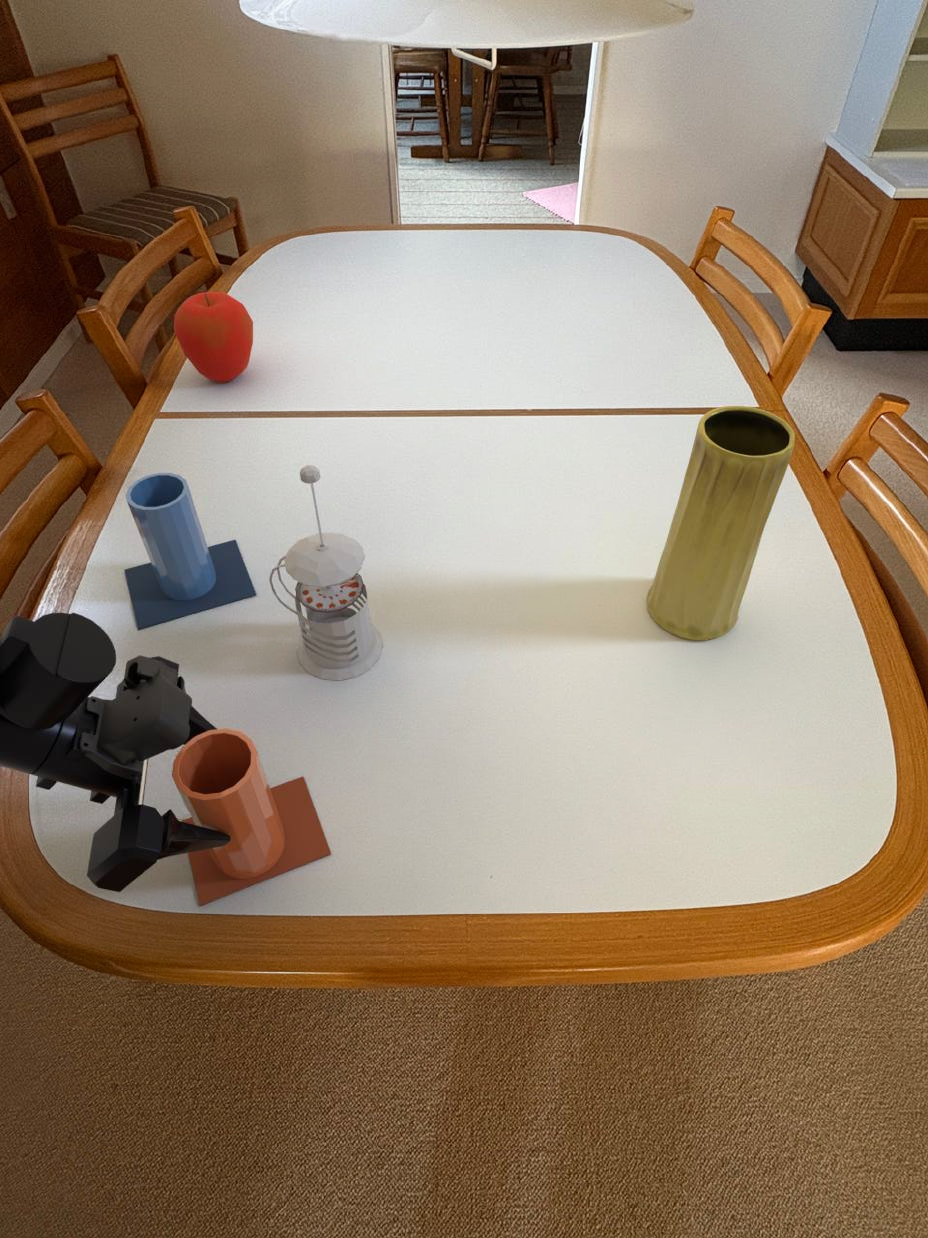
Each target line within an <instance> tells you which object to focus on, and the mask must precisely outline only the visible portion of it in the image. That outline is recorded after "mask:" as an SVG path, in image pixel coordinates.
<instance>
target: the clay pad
mask: <svg viewBox="0 0 928 1238" xmlns="http://www.w3.org/2000/svg"><path fill="white" fill-rule="evenodd" d="M270 790H271V793H272V796H273V799H274V802H275V805H276V808H277V811H278V814H279V817H280V820H281V823H282V826H283V829H284V834H285V846H284V850H283V853H282V855H281V857H280V858H279V860H278V861H277V862H276V864H275V865H274V866H273V867H272V868H270V869H269V870H268V871H266V872H265V873H263V874H261V875H259V876H256V877H253V878H248V879H238V878H233V877H230V876H228V875H226V874H224V873H223V872H222V871H221V870H220V869H219V868H218V867H217V865H216V864H215V863H214V861H213V859H212V857H211V855H210V853H209V851H208V849H205V850H200V851H194V852H189V853H187V854H188V857H189V863H190V867H191V871H192V876H193V880H194V884H195V889H196V892H197V897H198V898H197V899H198V902H199V906H200V907H202V906H205V905H207V904H210V903H212V902H215V901H217V900H221V899H223V898H225V897H228V896H230V895H232V894H235V893H237V892H241V891H242V890H245V889H248V888H250V887H252V886H255V885H257V884H260V883H262V882H264V881H268V880H270V879H272V878H275V877H278V876H280V875H283V874H285V873H287V872H290V871H292V870H295V869H298V868H300V867H302V866H305V865H308V864H310V863H313V862H314V861H318V860H320V859H323V858H325V857H328V856H330V855H332V852H331V849H330V847H329V844H328V841H327V837H326V835H325V832H324V830H323V827H322V824H321V821H320V818H319V816H318V813H317V810H316V808H315V804H314V802H313V799H312V795H311V793H310V791H309V789H308V785H307V782H306V780H305V776H304V775H302V776H300V777H297V778H293V779H292V780H288V781H286V782H283V783H281V784H277V785H275V786H273V787H270ZM181 822H185V823H189V824H193V825H195V823H194V821H193V819H192V817H191V816H190V817H188V818H185V819H181Z"/></svg>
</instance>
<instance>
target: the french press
mask: <svg viewBox="0 0 928 1238" xmlns="http://www.w3.org/2000/svg"><path fill="white" fill-rule="evenodd" d="M299 477H300V481H301V482H302V483H304V484H310V488H311V494H312V498H313V505H314V510H315V516H316V521H317V523H316V524H317V528H318V532H319V533H315V534H310V535H309V536H306V537H304V538H301V539H299V540H297V542H295V543H294V544H293V545H292V546H291V547H290V548H289V549H288V551H287V552H286V554H285V555H283V556H282V557H281V558H280V559H279V561H278V562H277V564H276V566H275V567H274V568H272V570H271V572H270V574H269V579H268V580H269V584H270V588H271V591H272V593H273V594H274V596H275V598H276V599H277V600H278V602H279V603H280V604H281V605H282V606H283V607H284V608H286V609H287V610H288V611H290V612H292V613H293V614H295V615H297V619H298V624H299V627H300V632H301V636H300V638H299V642H298V644H297V647H296V654H297V659H298V663H299V664H300V665H301V666H302V667H303V669H304V670H305V671H306V672H307V673H308V674H310V675H312V676H314V677H316V678H319V679H320V680H329V681H336V682H337V681H343V680H349V679H353V678H356V677H358V676H360V675H362V674H363V673H365V672H367V671H369V670H370V669H372V667H373V666H374V665H375V664H376V663H377V662H378V660H379V659H380V658H381V654H382V650H383V648H384V647H383V646H384V643H383V639H382V636H381V632H380V631H379V630H378V629H377V628H376V627H375V626H374V625H373V624H372V622H371V621H372V620H371V612H370V605H369V598H368V592H367V588H366V585H365V583H364V580H363V577H362V576H361V574H359V572H360V571H361V569H362V568H363V565H364V562H365V558H366V555H365V551H364V548H363V546H362V545H361V544H360V543H359V542H358V541H357V540H356V539H355V538H353V537H351V536H349V535H346V534H344V533H339V532H328V531H327V532H322V528H321V521H320V515H319V510H318V504H317V499H316V492H315V486H314V483H317V482H319V481H320V480H321V472H320V469H319V468H318V467H317V466H316V465H312V464H307V465H305V466H303V467H302V468H301V469H300V470H299ZM283 561H284V563H283V564H282V562H283ZM283 567H284V569H285V572H286V573H287V574H288V575H289V576H290V577H291V579H292V580H294V581H296V585H295V588H294V591H295V594H293V593H292V592H291V591H289V589H288V588H287V586H286V585H285V583H284V581H283V579H282V577H281V571H280V568H283ZM275 572H277V577H278V581H279V582H280V583H281V586H282V587H283V588H284V590H285V591H286V593H287V594H288V595H290V597H292V598H293V599H294V603H295V609H293V608H292V607H290V606H289V605H287V604H286V603H285V602H283V600H282V599H281V598H280V597H279V596H278V594H277V592H276V590H275V588H274V584H273V575H274V573H275ZM360 600H361V601H360ZM355 603H357V604H358V605H359V606H360V607H359V606H358V605H357V604H355ZM301 605H302V606H303V607H304V608H305V609H304V610H305V613H306V616H304V615H303V614H304V613H303V610H302V606H301ZM351 606H352V607H354V608H355V609H356V610H357V611H356V610H355V609H353V608H351ZM306 626H308V627H306Z"/></svg>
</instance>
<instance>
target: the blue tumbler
mask: <svg viewBox="0 0 928 1238" xmlns="http://www.w3.org/2000/svg"><path fill="white" fill-rule="evenodd" d="M125 499H126V502H127V505H128V508H129V510H130V513H131V515H132V518H133V520H134V523H135V526H136V528H137V531H138V533H139V535H140V538H141V541H142V543H143V546H144V549H145V551H146V553H147V556H148V559H149V562H151V564H152V566H153V569H154V572H155V574H156V577H157V579H158V582H159V584H160V587H161V588H162V591H163V593H164V594H165V595H166V596H167V597H169V598H171V599H174V600H180V601H185V600H192V599H196V598H199V597H201V596H203V595H205V594H206V593H207V592H209V591H210V590H211V589H212V588H213V586H214V585H215V582H216V573H215V569H214V566H213V563H212V560H211V556H210V553H209V550H208V547H209V546H208V544H207V540H206V537H205V535H204V531H203V528H202V525H201V522H200V519H199V516H198V513H197V509H196V506H195V503H194V500H193V496H192V493H191V490H190V486H189V484H188V481H187V479H186V478H184V477H183V476H181V475H180V474H176V473H173V472H155V473H151V474H147V475H144V476H143V477H141V478H139V479H137V480H135V481H134V482H133V483H132V484H131V485H130V486H128V488H127V491H126V493H125Z"/></svg>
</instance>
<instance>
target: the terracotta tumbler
mask: <svg viewBox="0 0 928 1238" xmlns="http://www.w3.org/2000/svg"><path fill="white" fill-rule="evenodd" d="M171 777H172V779H173V782H174V784H175V787H176V790H177V791H178V794H179V795H180V797H181V799H182V801H183V803H184V805H185V807H186V809H187V811H188V813H189V815H190V817H192V819H193V821H194V823H195V825H197V826H201V827H205V828H209V829H213V830H217V831H220V832H222V833H224V834H227V835H229V836H231V841H230V842H229V843H227V844H226V845H224V846H221V847H215V848H210V849H208V851H209V853H210V855H211V857H212V859H213V861H214V863H215V864H216V865H217V867H218V868H219V869H220V870H221V871H222V872H223V873H224V874H226V875H228V876H230V877H233V878H238V879H248V878H253V877H256V876H259V875H261V874H263V873H265V872H266V871H268V870H269V869H270V868H272V867H273V866H274V865H275V864H276V862H277V861H278V860H279V858H280V857H281V855H282V853H283V850H284V846H285V834H284V829H283V826H282V823H281V820H280V817H279V814H278V811H277V808H276V805H275V802H274V799H273V796H272V793H271V790H270V788H271V787H270V785H269V782H268V778H267V776H266V773H265V770H264V766H263V764H262V761H261V758H260V755H259V752H258V750H257V747H256V746H255V744H254V741H253V740H252V738H250V737H249V736H247V735H246V734H245V733H244V732H242V731H240V730H234V729H232V728H231V729H230V728H227V727H226V728H217V729H215V730H209V731H206V732H204V733H202V734H200V735H197V736H195V737H193V738H192V739H191V740H190V741H189V742H188V743H186V744H185V745H182V746H181V748H180V749H179V751H178V753H177V754H176V756H175V758H174V759H173V764H172V771H171Z"/></svg>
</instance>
